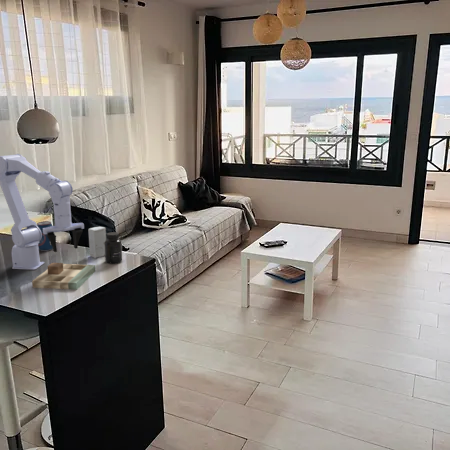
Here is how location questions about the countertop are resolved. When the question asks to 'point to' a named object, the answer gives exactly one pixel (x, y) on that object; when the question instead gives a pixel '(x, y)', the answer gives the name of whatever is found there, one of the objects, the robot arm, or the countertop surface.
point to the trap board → (65, 277)
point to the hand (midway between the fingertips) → (65, 249)
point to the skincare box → (97, 241)
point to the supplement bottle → (113, 248)
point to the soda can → (44, 237)
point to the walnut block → (55, 268)
